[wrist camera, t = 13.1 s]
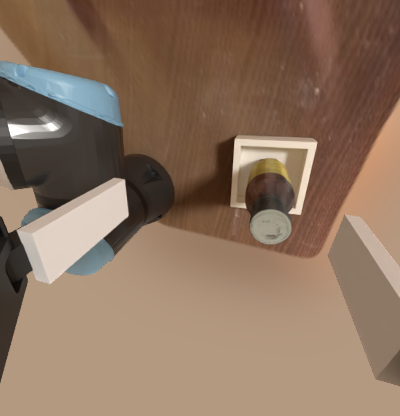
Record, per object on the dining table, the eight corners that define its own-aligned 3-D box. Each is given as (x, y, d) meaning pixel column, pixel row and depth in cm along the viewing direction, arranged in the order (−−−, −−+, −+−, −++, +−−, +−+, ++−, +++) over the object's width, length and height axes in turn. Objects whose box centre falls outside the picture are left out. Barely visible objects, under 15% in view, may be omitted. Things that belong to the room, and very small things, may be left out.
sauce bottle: (276, 195, 40) (282, 268, 23) (244, 182, 41) (227, 244, 24) (294, 162, 37) (317, 218, 20) (259, 148, 37) (252, 192, 20)
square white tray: (233, 197, 44) (230, 206, 40) (237, 135, 38) (234, 138, 35) (297, 204, 41) (300, 214, 38) (312, 137, 36) (317, 142, 32)
